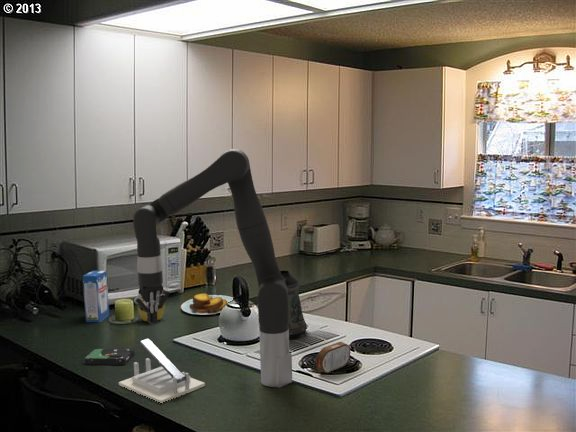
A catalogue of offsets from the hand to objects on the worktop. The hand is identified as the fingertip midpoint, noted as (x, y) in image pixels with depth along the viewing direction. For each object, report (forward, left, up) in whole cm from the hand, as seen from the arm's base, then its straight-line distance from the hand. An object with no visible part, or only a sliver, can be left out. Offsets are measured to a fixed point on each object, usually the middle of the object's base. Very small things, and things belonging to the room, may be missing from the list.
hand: (152, 323), depth 205 cm
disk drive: (+31, -3, -21) cm, 37 cm away
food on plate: (+51, -67, -20) cm, 87 cm away
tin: (-37, -45, -20) cm, 62 cm away
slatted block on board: (-3, 0, -20) cm, 20 cm away
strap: (-4, 0, -12) cm, 12 cm away
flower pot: (+57, -40, -20) cm, 73 cm away
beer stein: (-1, -61, -20) cm, 64 cm away
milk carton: (+78, -27, -20) cm, 85 cm away
